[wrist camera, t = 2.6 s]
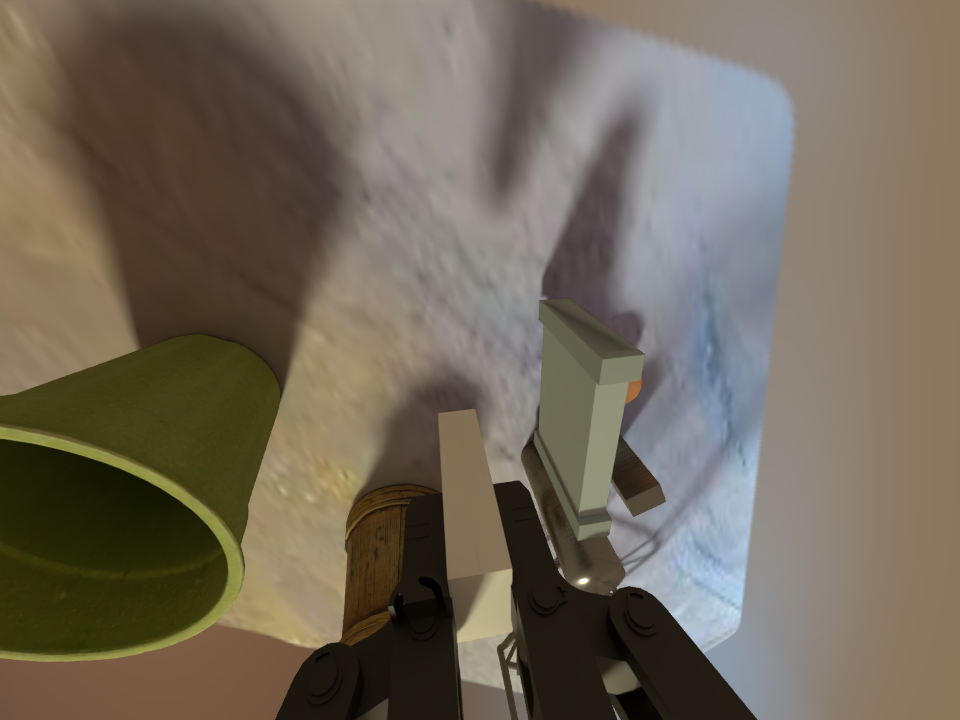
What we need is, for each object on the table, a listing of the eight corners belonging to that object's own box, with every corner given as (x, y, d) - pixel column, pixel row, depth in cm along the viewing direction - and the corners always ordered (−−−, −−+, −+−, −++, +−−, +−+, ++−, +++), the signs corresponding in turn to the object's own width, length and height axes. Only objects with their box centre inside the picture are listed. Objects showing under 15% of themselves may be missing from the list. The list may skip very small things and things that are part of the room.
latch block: (586, 440, 27) (625, 500, 22) (613, 426, 27) (659, 484, 22) (593, 455, 28) (633, 517, 23) (619, 442, 28) (666, 501, 23)
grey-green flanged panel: (557, 439, 26) (608, 535, 18) (534, 443, 25) (577, 540, 18) (568, 297, 21) (645, 354, 13) (539, 300, 20) (602, 359, 13)
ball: (571, 360, 24) (594, 386, 21) (616, 337, 24) (646, 359, 20) (587, 396, 25) (609, 425, 22) (629, 374, 25) (658, 400, 22)
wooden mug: (302, 573, 29) (163, 1027, 13) (381, 468, 26) (316, 929, 10) (394, 595, 33) (369, 978, 17) (476, 505, 29) (543, 892, 13)
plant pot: (60, 401, 20) (-307, 619, 10) (159, 246, 17) (-209, 326, 7) (259, 487, 25) (149, 690, 15) (359, 377, 22) (309, 533, 12)
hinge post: (514, 450, 27) (560, 579, 18) (550, 432, 26) (616, 553, 18) (530, 475, 28) (580, 605, 19) (564, 457, 28) (631, 582, 19)
